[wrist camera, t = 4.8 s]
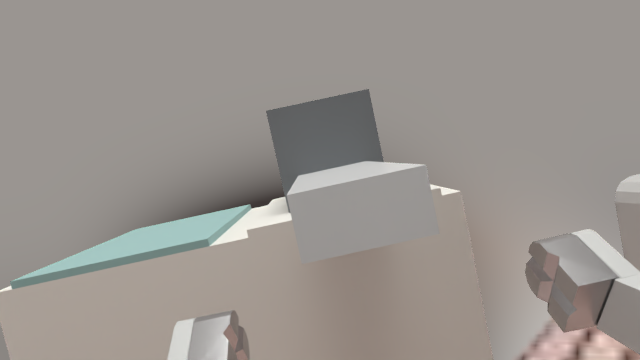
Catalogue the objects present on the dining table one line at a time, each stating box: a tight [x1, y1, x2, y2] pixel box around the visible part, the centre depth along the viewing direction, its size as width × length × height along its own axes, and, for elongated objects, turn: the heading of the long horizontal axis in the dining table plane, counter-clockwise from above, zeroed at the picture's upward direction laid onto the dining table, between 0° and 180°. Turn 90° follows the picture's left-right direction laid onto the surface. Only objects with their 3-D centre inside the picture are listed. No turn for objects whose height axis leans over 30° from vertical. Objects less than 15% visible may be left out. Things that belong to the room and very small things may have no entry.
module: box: [266, 89, 440, 264], centre depth 21 cm, size 22×6×6 cm, turn 2°
